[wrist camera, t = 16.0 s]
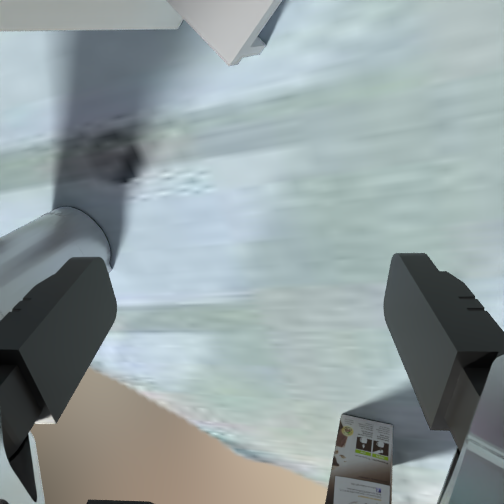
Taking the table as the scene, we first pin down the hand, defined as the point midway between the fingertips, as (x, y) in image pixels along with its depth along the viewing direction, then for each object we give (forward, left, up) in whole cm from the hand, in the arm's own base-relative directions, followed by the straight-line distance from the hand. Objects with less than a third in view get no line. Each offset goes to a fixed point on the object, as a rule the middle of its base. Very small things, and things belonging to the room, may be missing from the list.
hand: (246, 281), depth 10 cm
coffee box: (-40, +1, -22) cm, 45 cm away
